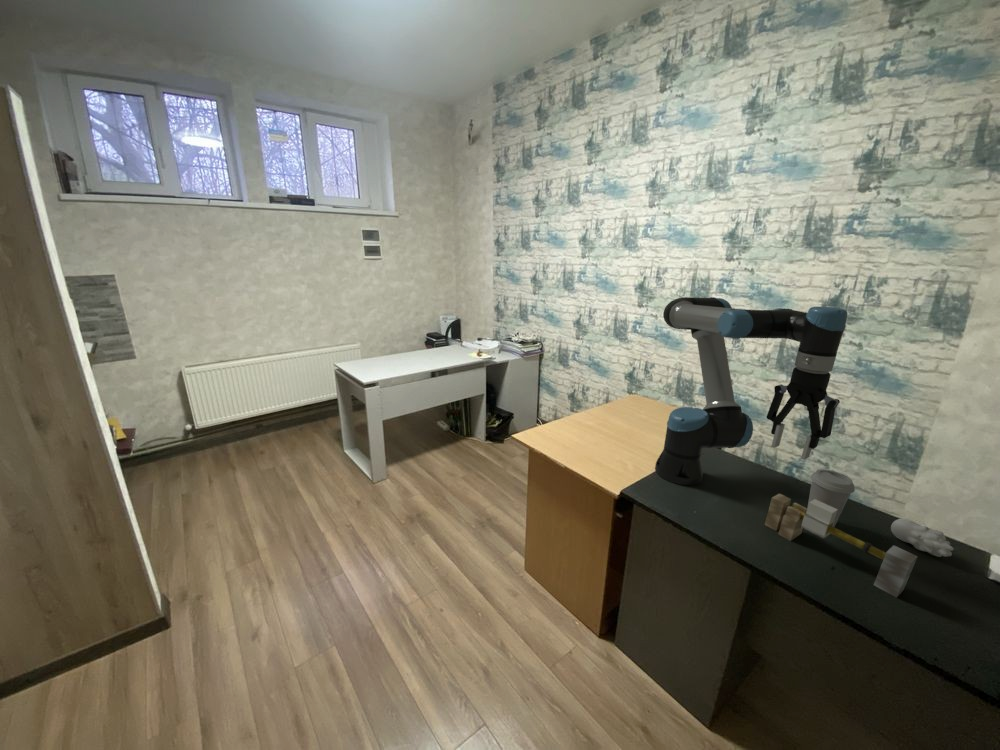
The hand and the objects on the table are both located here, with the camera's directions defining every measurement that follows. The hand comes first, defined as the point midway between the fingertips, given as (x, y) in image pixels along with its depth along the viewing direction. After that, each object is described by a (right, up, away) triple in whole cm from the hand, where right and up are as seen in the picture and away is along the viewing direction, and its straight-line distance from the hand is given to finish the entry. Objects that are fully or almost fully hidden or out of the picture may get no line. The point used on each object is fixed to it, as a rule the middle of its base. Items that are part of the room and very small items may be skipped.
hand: (789, 451), depth 104 cm
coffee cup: (+14, -22, +8) cm, 28 cm away
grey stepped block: (+5, -20, -3) cm, 21 cm away
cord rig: (+7, -26, -5) cm, 27 cm away
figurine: (+33, -25, -1) cm, 42 cm away
